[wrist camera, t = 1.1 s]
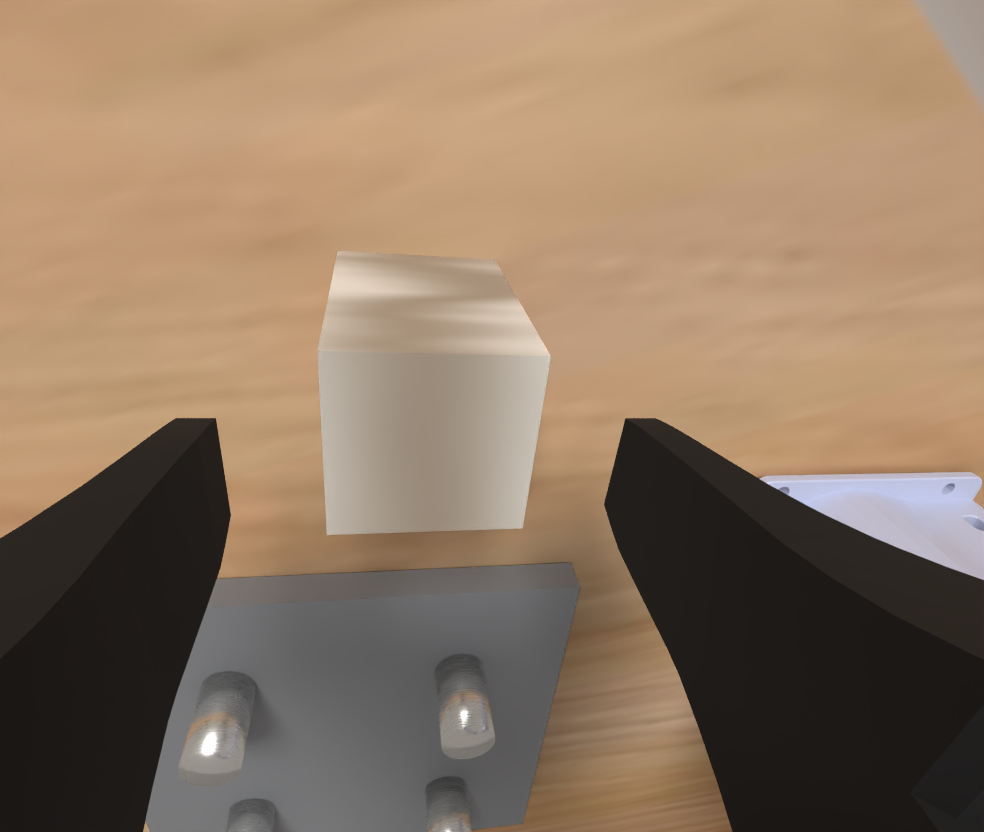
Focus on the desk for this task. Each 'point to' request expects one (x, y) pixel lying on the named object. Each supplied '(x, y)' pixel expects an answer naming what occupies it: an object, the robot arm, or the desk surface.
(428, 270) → the cream block
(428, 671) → the peg board
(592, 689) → the desk surface
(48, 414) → the desk surface
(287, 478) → the desk surface
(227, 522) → the robot arm
